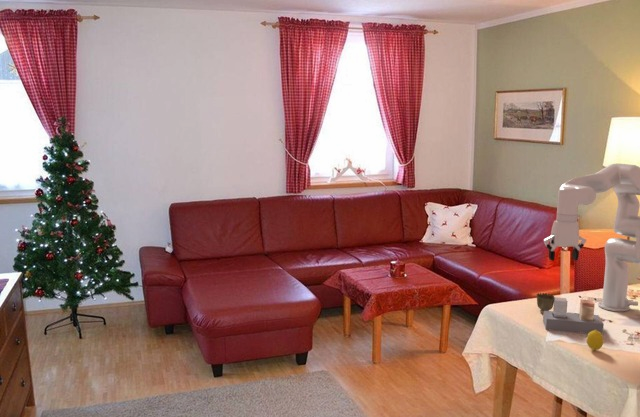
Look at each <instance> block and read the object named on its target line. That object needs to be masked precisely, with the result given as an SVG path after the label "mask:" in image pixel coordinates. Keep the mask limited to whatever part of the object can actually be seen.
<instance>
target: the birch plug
mask: <svg viewBox="0 0 640 417" xmlns="http://www.w3.org/2000/svg"><path fill="white" fill-rule="evenodd" d="M595 305H596V304H595V302H594V301H593V299H582V298H581V299H580V303H579V313H578V314H579V318H580V320H588V321H593V317H594V315H595Z"/></svg>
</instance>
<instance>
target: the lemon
mask: <svg viewBox="0 0 640 417" xmlns="http://www.w3.org/2000/svg"><path fill="white" fill-rule="evenodd" d="M586 344H587V346H588V347H589V348H590V349H591V350H592V351H593V352H594V351H596V350H599V349H601V348H603V345H604V336H603V335H602V334H601V333H600V332H599V331H597V330H594V331H591V332H590V333H589V334H587V336H586Z"/></svg>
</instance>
